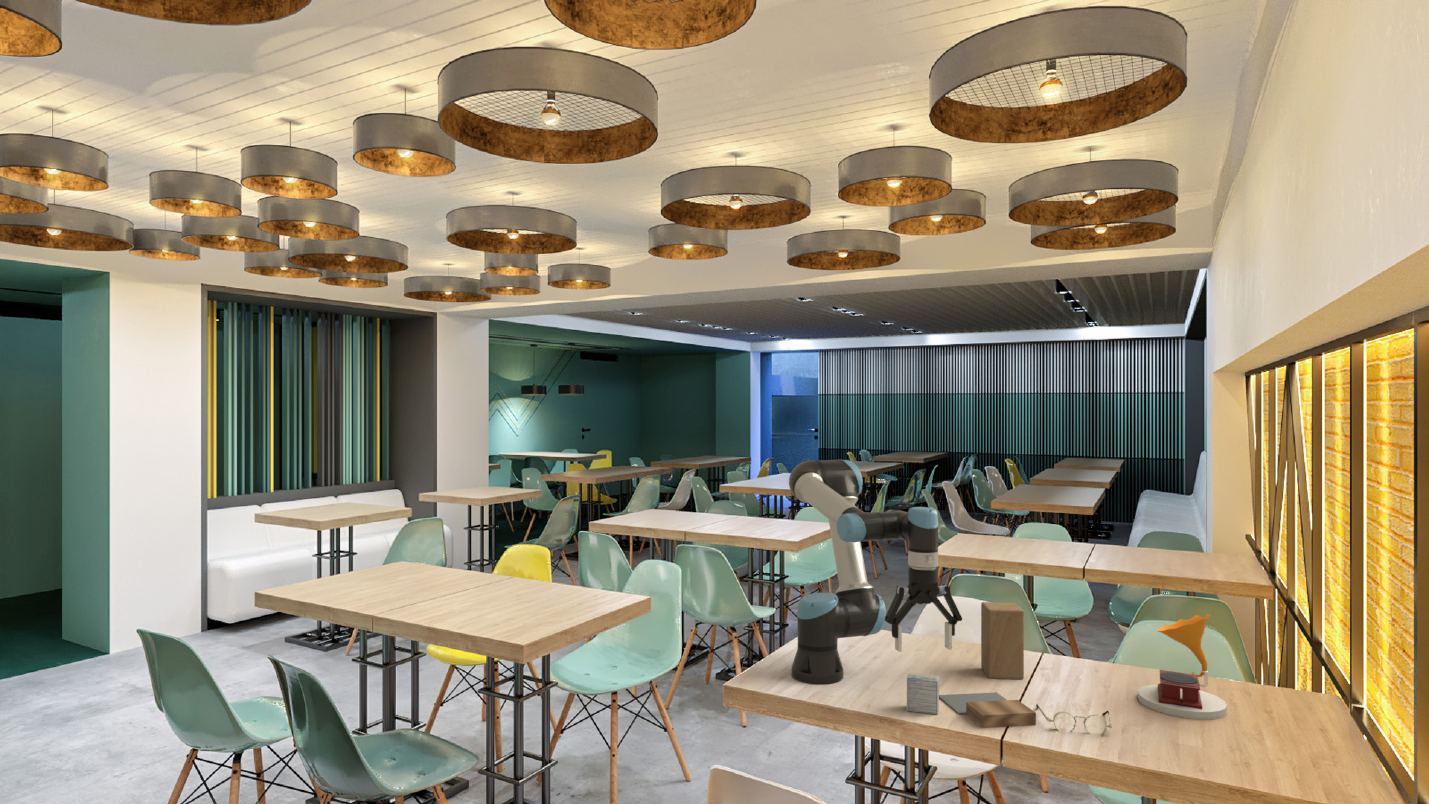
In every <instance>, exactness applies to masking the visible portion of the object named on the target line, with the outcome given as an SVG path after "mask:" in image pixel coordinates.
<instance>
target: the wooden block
mask: <svg viewBox="0 0 1429 804" xmlns="http://www.w3.org/2000/svg"><path fill="white" fill-rule="evenodd" d="M980 604H981V605H980V606H981V607H980V610H981V611H980V612H981V613H980V614H981V615H980V616H981V617H980V618H981V619H980V622H981V623H980V624H981V625H980V627H981V628H980V639H981V640H980V641H981V642H980V643H981V644H980V647H981V648H980V655H981V657H980V658H981V659H980V661H981V663H980V666H981V669H982V670H983V671H984V673H985V674H986V676H987V677H988V678H989V679H1000V680H1001V679H1002V680H1004V679H1005V680H1008V679H1009V680H1024V679H1025V678H1024V677H1025V676H1024V674H1025V673H1024V672H1025V671H1024V670H1025V668H1024V667H1025V663H1024V661H1025V657H1024V656H1025V653H1024V651H1025V642H1024V641H1025V640H1024V639H1025V634H1024V633H1025V632H1024V631H1025V630H1024V629H1025V624H1024V623H1025V617H1024V615H1025V613H1024V612H1025V611H1024V610H1023V609H1022V608H1021V607H1020V606H1018V605H1017V604H1016V603H1015V602H994V601H993V602H990V601H988V602H987V601H982V602H981V603H980Z"/></svg>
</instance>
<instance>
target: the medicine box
mask: <svg viewBox="0 0 1429 804" xmlns="http://www.w3.org/2000/svg"><path fill="white" fill-rule="evenodd" d="M939 695H940V677H939V676H938V675H931V674H921V673H912V672H911V673H908V674H907V677H906V711H907V712H913V713H922V714H923V713H924V714H932V715H939V710H940V698H939Z"/></svg>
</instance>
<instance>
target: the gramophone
mask: <svg viewBox="0 0 1429 804" xmlns="http://www.w3.org/2000/svg"><path fill="white" fill-rule="evenodd" d="M1211 615H1212V613H1211V614H1210V613H1207V614H1206V616H1204V617H1203V616H1200V615H1198V614H1196V615H1194V616H1193V617H1191V618H1190V619H1181V618H1180V619H1178V621H1175V623H1173V624H1164V625H1163V626H1162V627H1159V628H1155V630H1157V633H1160V634H1164V635H1165V636H1167V637H1168V638H1170V639H1172V640H1174V641H1175V642H1177V643H1180V644H1182V645H1183V646H1185V647H1187V649H1189V650H1190V651H1191V652H1192V653H1193V655H1194V656H1195V657H1196V659H1197V660H1198V662H1199V664H1200V665H1201V669H1200V673H1199V674H1195V672H1192V673H1188V672H1187V673H1186V672H1180V671H1173V670H1166V669H1159V681H1160V682H1159V683H1157V684H1152V685H1151V684H1150V685H1145V686H1142V687H1140V688H1139V689H1138V690H1137V699H1138V700H1139V703H1140V704H1142V705H1143V706H1144V707H1146V708H1149V709H1151V710H1153V711H1156V712H1159V713H1161V714H1165V715H1168V716H1169V715H1170V716H1173V717H1178V718H1185V719H1193V720H1216V719H1221V718H1223V717H1225V716H1226V715H1227V712H1228V704H1227V702H1225V700H1224V699H1223V698H1220V697H1219V696H1217V695H1215V694H1212V693H1209V692H1206V691H1203V690H1201V688H1206V687H1207V686H1208V684H1209V678H1208V677H1209V671H1208V663H1207V662H1208V661H1207V659H1206V655H1205V653H1204V650H1203V647H1202V639H1203V636H1204V633H1205V629H1206V625H1207V621H1208V619H1210V617H1211ZM1201 677H1203V681H1204V683H1201V682H1199V678H1201Z"/></svg>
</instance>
